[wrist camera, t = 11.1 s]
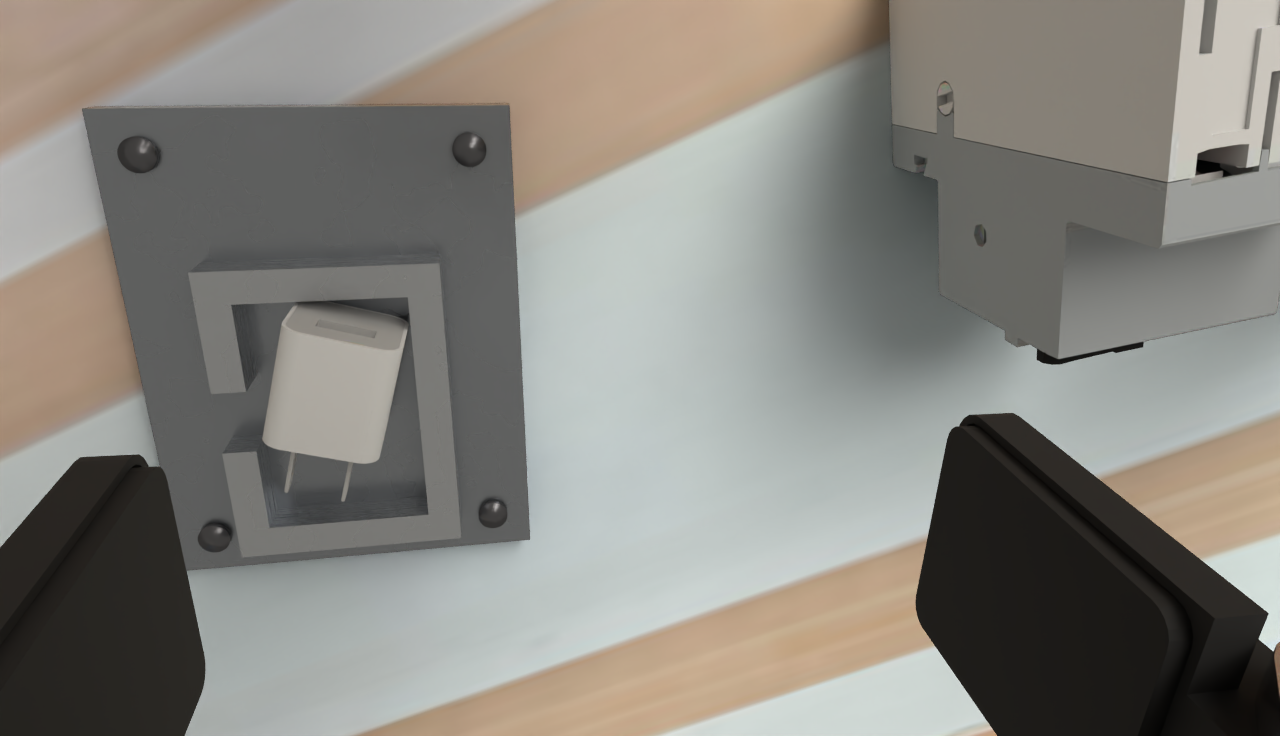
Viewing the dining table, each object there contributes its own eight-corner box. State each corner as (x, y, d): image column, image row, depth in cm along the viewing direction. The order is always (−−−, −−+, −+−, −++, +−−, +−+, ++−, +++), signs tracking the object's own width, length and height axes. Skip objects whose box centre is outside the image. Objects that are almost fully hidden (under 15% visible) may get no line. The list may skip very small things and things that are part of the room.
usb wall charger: (409, 319, 33) (401, 354, 29) (376, 477, 35) (363, 529, 31) (300, 295, 32) (277, 329, 28) (272, 460, 34) (246, 511, 30)
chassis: (94, 106, 29) (62, 112, 27) (508, 103, 32) (510, 108, 29) (190, 557, 36) (170, 592, 34) (528, 527, 38) (531, 558, 36)
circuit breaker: (896, 306, 37) (1140, 464, 24) (887, -55, 32) (1196, -123, 18) (1055, 275, 38) (1380, 410, 24) (1072, -82, 33) (1501, -166, 19)
